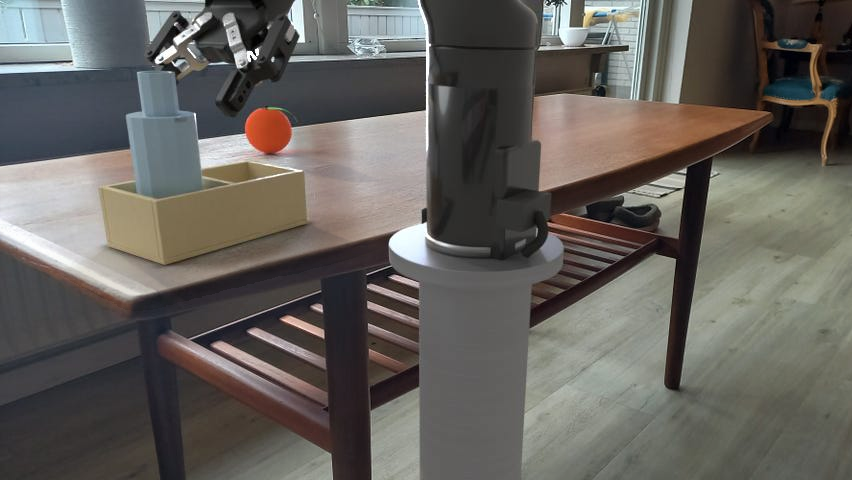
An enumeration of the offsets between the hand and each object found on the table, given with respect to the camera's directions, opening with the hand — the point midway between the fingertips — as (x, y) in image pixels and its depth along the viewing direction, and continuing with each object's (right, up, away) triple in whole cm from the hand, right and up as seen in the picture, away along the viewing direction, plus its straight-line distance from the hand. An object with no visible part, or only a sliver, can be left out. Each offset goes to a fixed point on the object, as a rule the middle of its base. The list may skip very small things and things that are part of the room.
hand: (186, 108), depth 61 cm
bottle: (-2, -11, +2) cm, 12 cm away
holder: (+1, -11, +5) cm, 12 cm away
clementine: (-6, +4, +46) cm, 46 cm away
